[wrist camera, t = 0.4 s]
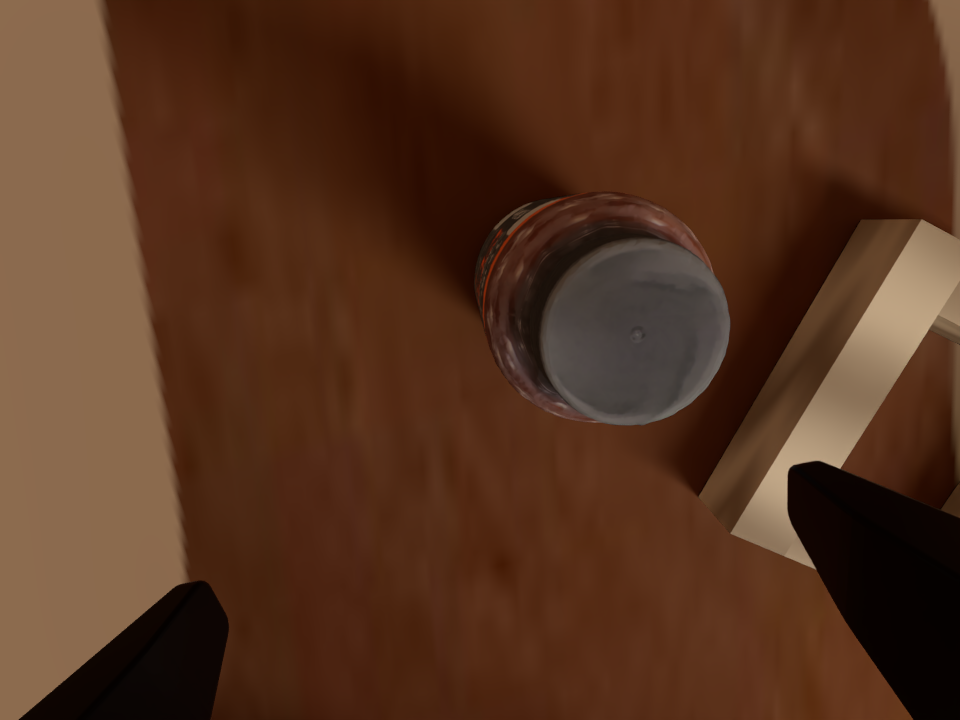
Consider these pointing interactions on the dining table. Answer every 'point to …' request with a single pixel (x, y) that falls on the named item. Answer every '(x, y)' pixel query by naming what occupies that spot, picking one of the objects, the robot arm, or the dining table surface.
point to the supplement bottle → (601, 308)
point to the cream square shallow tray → (838, 373)
